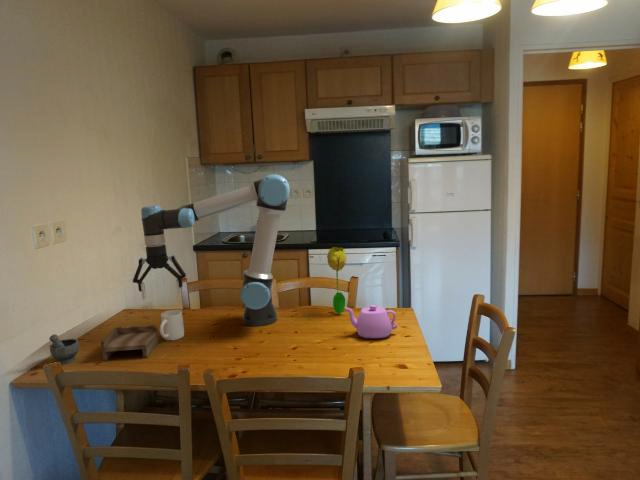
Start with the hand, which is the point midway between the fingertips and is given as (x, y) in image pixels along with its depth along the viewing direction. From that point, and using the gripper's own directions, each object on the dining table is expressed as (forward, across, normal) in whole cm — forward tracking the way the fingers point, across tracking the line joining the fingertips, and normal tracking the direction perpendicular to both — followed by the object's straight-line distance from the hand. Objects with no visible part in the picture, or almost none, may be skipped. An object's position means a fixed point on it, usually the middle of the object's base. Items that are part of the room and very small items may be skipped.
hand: (162, 297), depth 193 cm
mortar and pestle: (+17, +34, +14) cm, 41 cm away
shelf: (+17, +11, +10) cm, 23 cm away
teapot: (+18, -80, +19) cm, 85 cm away
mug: (+18, -2, 0) cm, 18 cm away
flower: (+18, -73, -9) cm, 75 cm away
